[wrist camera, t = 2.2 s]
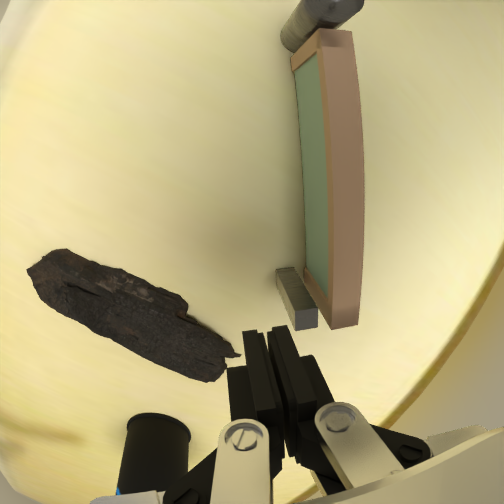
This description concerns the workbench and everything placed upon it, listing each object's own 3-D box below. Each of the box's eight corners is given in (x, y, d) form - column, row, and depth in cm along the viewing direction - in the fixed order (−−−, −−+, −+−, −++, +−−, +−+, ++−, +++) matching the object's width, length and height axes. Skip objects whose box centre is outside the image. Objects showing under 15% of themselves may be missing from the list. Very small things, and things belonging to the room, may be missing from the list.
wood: (257, 331, 29) (261, 350, 26) (218, 380, 31) (219, 400, 28) (51, 215, 23) (34, 223, 20) (30, 279, 25) (15, 292, 22)
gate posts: (316, 25, 20) (362, -20, 11) (306, 284, 27) (341, 344, 19) (280, 20, 19) (311, -32, 11) (273, 286, 27) (297, 349, 19)
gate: (315, 58, 20) (351, 31, 14) (326, 281, 27) (357, 324, 20) (290, 58, 20) (319, 28, 13) (304, 284, 27) (331, 330, 20)
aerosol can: (177, 408, 31) (169, 571, 13) (199, 445, 34) (204, 581, 15) (115, 414, 31) (86, 558, 12) (144, 450, 34) (131, 576, 15)
